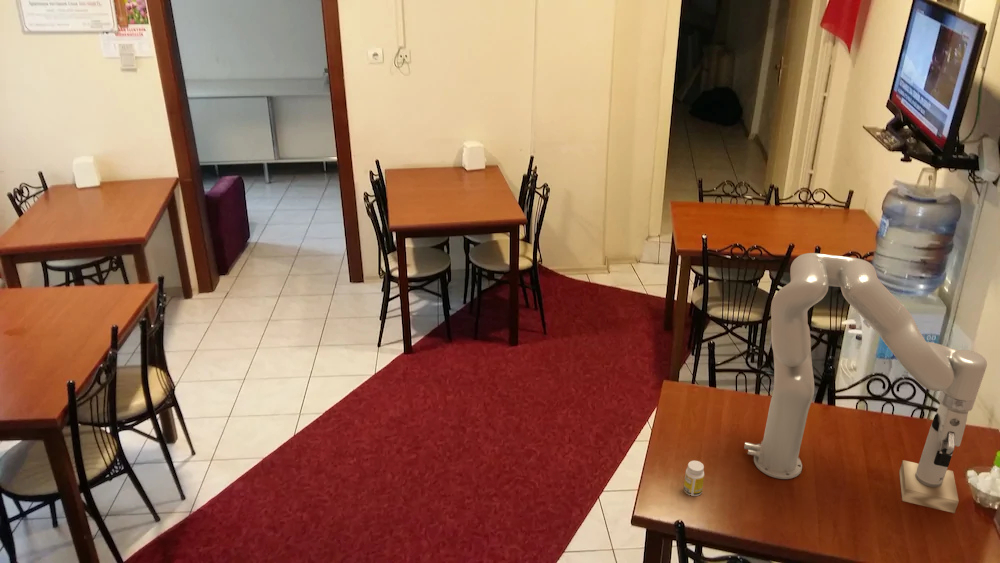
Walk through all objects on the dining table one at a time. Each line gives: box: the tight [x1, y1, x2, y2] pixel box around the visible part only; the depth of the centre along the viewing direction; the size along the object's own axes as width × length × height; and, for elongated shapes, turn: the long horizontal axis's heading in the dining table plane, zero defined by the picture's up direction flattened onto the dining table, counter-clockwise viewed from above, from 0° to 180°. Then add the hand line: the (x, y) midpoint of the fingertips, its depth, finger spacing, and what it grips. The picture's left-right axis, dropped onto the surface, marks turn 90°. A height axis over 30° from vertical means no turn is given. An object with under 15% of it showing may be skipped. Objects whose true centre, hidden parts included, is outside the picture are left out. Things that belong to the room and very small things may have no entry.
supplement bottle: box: [683, 460, 705, 497], centre depth 199 cm, size 5×5×8 cm
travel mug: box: [915, 412, 956, 487], centre depth 194 cm, size 6×7×20 cm
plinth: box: [898, 459, 960, 514], centre depth 199 cm, size 12×12×4 cm
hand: (938, 453), depth 194 cm, fingers open, 9 cm apart
